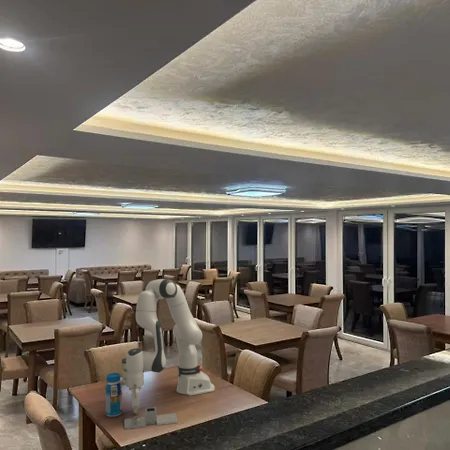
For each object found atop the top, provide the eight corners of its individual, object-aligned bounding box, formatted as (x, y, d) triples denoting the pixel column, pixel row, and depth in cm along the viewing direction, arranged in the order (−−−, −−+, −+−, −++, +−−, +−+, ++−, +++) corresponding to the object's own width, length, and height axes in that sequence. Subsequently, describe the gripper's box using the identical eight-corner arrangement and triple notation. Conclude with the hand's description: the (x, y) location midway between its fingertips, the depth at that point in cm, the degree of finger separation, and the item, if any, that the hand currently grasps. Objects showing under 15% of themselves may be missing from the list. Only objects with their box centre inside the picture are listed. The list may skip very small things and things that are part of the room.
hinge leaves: (175, 415, 213) (175, 403, 213) (177, 422, 204) (177, 410, 204) (124, 421, 207) (124, 408, 207) (124, 429, 198) (124, 416, 198)
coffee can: (140, 379, 268) (140, 356, 268) (136, 384, 257) (136, 361, 258) (124, 379, 268) (124, 357, 268) (120, 385, 257) (119, 362, 258)
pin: (138, 413, 216) (137, 399, 216) (138, 415, 214) (138, 401, 214) (133, 413, 216) (133, 400, 216) (133, 415, 213) (133, 401, 213)
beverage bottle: (101, 416, 214) (101, 376, 214) (111, 409, 221) (111, 371, 222) (115, 418, 211) (115, 378, 211) (125, 411, 218) (125, 372, 219)
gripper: (142, 388, 206) (142, 416, 205) (140, 374, 226) (141, 400, 225) (128, 389, 204) (129, 418, 204) (128, 375, 224) (129, 402, 224)
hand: (135, 409), depth 215 cm, fingers open, 7 cm apart
